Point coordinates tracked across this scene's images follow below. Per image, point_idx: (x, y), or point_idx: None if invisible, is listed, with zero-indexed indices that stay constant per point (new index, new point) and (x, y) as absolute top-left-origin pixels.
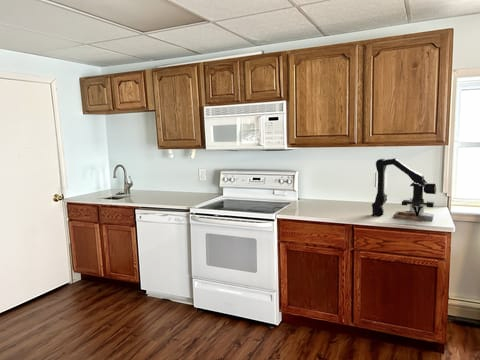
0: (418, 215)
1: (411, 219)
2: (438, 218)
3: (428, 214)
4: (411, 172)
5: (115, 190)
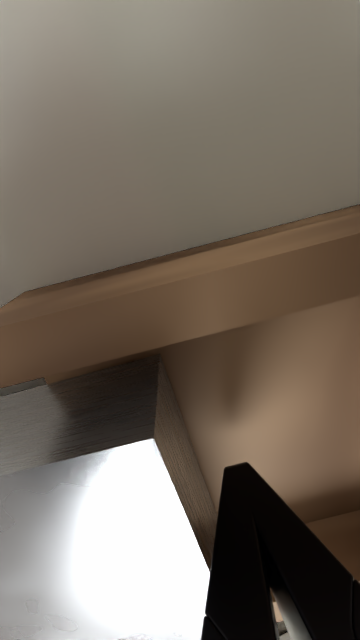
0: None
1: (288, 231)
2: None
3: (9, 630)
4: None
5: None
